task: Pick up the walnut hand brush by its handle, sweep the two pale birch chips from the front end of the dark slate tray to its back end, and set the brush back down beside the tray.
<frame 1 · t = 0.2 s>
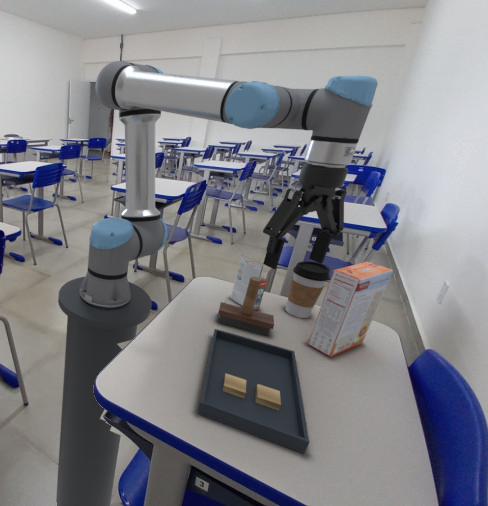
hand: (293, 263, 77), 23 cm above the table, tool pointing down, fingers open, 13 cm apart
chip a: (233, 388, 71), point 1 cm above the table, touching tray
chip b: (266, 399, 69), point 1 cm above the table, touching tray
ink box: (243, 304, 106), on the table
brush: (242, 325, 95), on the table
cracker box: (333, 344, 89), on the table
tray: (249, 384, 74), on the table
coffee cup: (296, 313, 102), on the table
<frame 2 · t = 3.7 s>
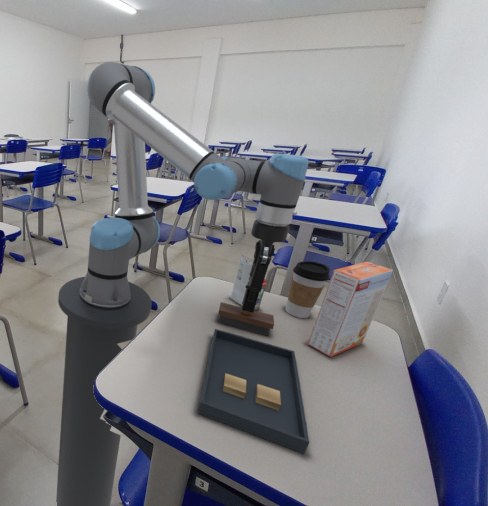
hand: (247, 307, 93), 6 cm above the table, tool pointing down, fingers closed on brush, 3 cm apart
brush: (242, 325, 95), on the table, touching gripper
everything else where it was.
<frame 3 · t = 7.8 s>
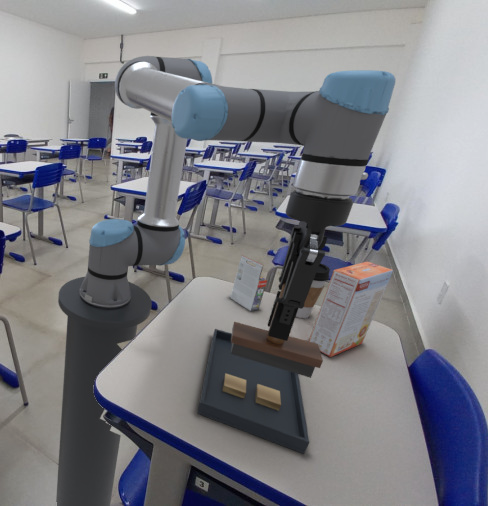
hand: (277, 332, 59), 19 cm above the table, tool pointing down, fingers closed on brush, 3 cm apart
brush: (268, 358, 61), point 13 cm above the table, touching gripper
everything else where it was.
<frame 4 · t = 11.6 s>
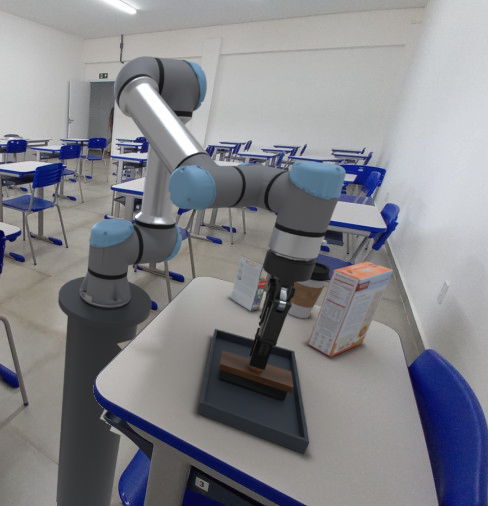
hand: (257, 361, 71), 7 cm above the table, tool pointing down, fingers closed on brush, 3 cm apart
chip a: (234, 367, 77), point 1 cm above the table, touching brush, tray
chip b: (267, 378, 75), point 1 cm above the table, touching brush
brush: (250, 383, 73), point 1 cm above the table, touching chip a, chip b, gripper
everything else where it was.
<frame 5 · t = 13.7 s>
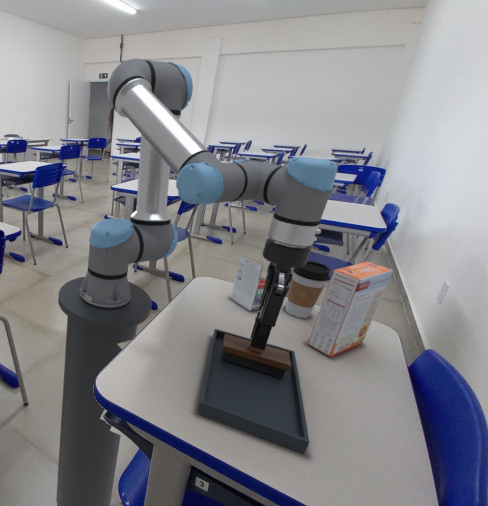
hand: (257, 343, 76), 7 cm above the table, tool pointing down, fingers closed on brush, 3 cm apart
chip a: (234, 350, 83), point 1 cm above the table, touching brush, tray
chip b: (267, 359, 80), point 1 cm above the table, touching brush, tray
brush: (251, 363, 78), point 1 cm above the table, touching chip a, chip b, gripper
everything else where it was.
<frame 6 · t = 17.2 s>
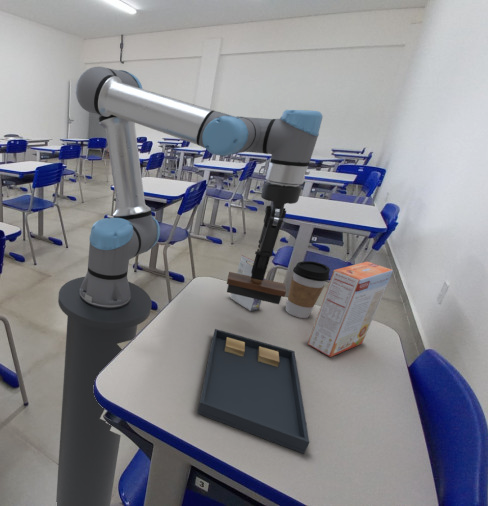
hand: (257, 276, 89), 15 cm above the table, tool pointing down, fingers closed on brush, 3 cm apart
chip a: (234, 349, 83), point 1 cm above the table, touching tray
chip b: (267, 359, 81), point 1 cm above the table, touching tray
brush: (252, 294, 91), point 9 cm above the table, touching gripper
everything else where it was.
when the fingers open (5 cm above the table, at t = 19.5 s): brush stays where it is, on the table.
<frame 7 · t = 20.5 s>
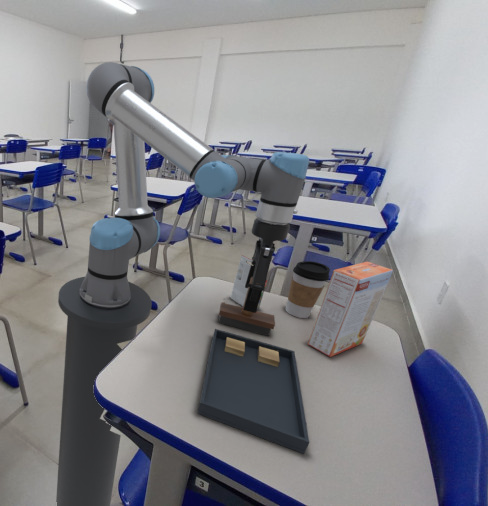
hand: (249, 299, 92), 8 cm above the table, tool pointing down, fingers open, 13 cm apart
brush: (243, 325, 95), on the table
everything else where it was.
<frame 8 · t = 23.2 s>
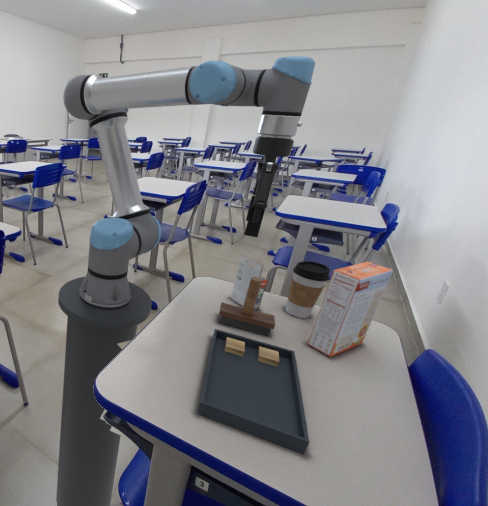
hand: (251, 228, 86), 27 cm above the table, tool pointing down, fingers open, 13 cm apart
nothing on the table moved.
at the end: chip a inside the target area in the tray (3.9 cm from its centre), point 0.8 cm above the tray's base; chip b inside the target area in the tray (3.8 cm from its centre), point 0.8 cm above the tray's base; the gripper is holding nothing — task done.
